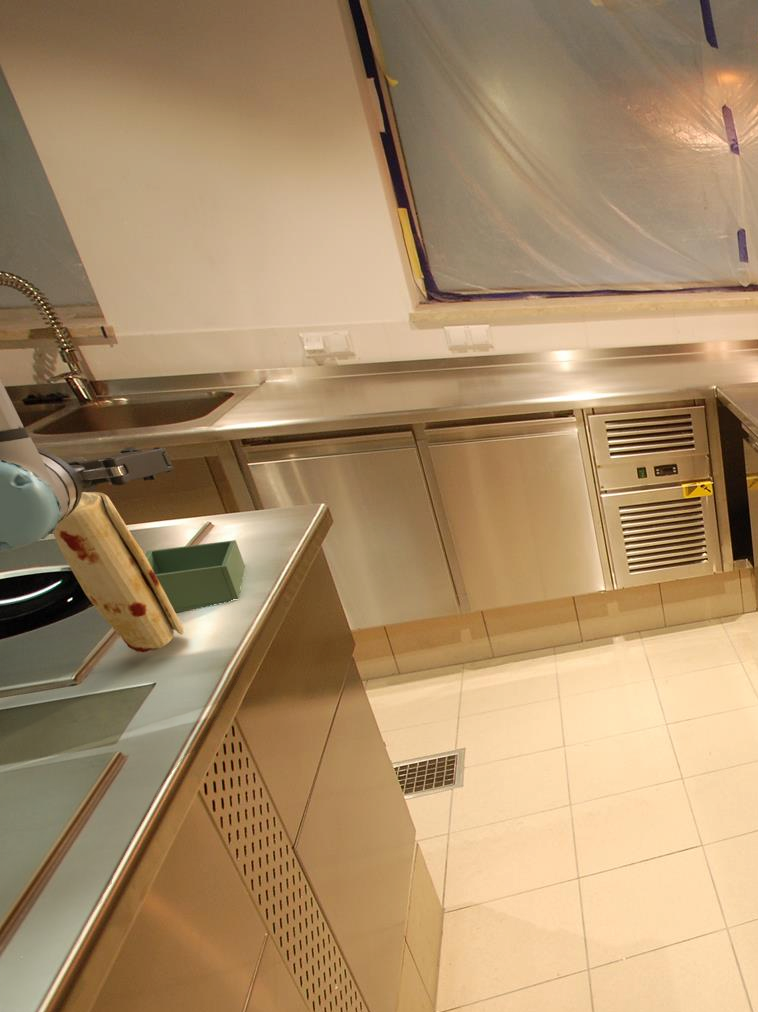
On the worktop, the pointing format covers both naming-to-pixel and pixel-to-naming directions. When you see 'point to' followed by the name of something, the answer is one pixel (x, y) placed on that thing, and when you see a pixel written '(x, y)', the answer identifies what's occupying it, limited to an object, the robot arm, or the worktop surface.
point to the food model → (116, 574)
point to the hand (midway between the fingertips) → (53, 469)
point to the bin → (198, 574)
